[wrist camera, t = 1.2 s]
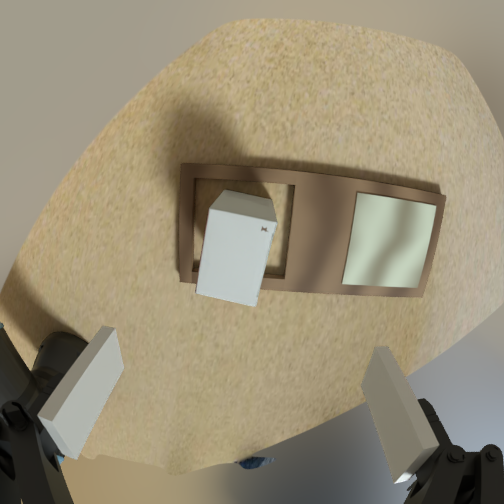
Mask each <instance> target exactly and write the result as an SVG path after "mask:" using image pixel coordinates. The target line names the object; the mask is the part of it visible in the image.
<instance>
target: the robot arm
mask: <svg viewBox="0 0 504 504" xmlns="http://www.w3.org/2000/svg"><path fill="white" fill-rule="evenodd" d="M3 327H4V325H3V323H1V322H0V504H21V499H22V502H23V504H74V503H73V500H72V498H71V495H70V493H69V490H68V487H67V485H66V482H65V479H64V476H63V473H62V470H61V467H60V464H61V462H62V461H64V457H65V455H66V456H68V457H71V458H73V459H76V460H77V458H78V456H79V454H80V452H81V450H82V448H83V446H84V444H85V442H86V440H87V438H88V436H89V434H90V432H91V430H92V428H93V426H94V424H95V422H96V420H97V418H98V416H99V414H100V412H101V411H102V409H103V407H104V405H105V403H106V401H107V399H108V397H109V395H110V393H111V392H112V390H113V388H114V386H115V384H116V382H117V381H118V379H119V377H120V375H121V373H122V371H123V370H124V365H123V361H122V357H121V352H120V348H119V343H118V338H117V333H116V328H112V327H107V326H102V327H101V329H100V330H99V331H98V333H97V334H96V335H95V336H94V338H93V339H92V340H91V342H90V343H89V344H87V343H86V342H84V341H83V340H81V339H80V338H78V337H76V336H74V335H71V334H69V333H65V332H54V333H52V334H50V335H49V336H48V337H47V338H46V339H45V340H44V341H43V342H42V344H41V345H40V348H39V352H38V354H37V357H36V359H35V362H34V365H33V368H32V370H31V371H30V370H29V368H28V367H27V366H26V364H25V363H24V361H23V359H22V358H21V356H20V355H19V353H18V352H17V350H16V348H15V347H14V345H13V343H12V342H11V340H10V338H9V336H8V335H7V333H6V331H5V329H4V328H3ZM361 387H362V390H363V393H364V395H365V398H366V401H367V404H368V407H369V409H370V412H371V415H372V418H373V421H374V423H375V426H376V429H377V432H378V435H379V438H380V441H381V444H382V447H383V451H384V453H385V457H386V460H387V463H388V466H389V469H390V473H391V476H392V479H393V482H394V483H399V482H403V481H407V480H409V479H410V478H411V477H412V476H413V475H414V474H416V477H417V480H416V481H415V482H414V483H413V484H412V485H411V486H410V487H409V488H408V489H407V491H409V490H410V489H411V491H410V492H409V494H408V497H407V498H406V500H405V502H404V504H504V465H503V455H502V451H501V450H500V448H499V447H497V446H496V445H493V444H489V445H486V446H484V448H482V450H481V451H480V452H465V450H464V449H463V448H461V447H460V446H457V445H453V444H452V443H451V441H450V439H449V437H448V435H447V433H446V431H445V429H444V427H443V425H442V423H441V421H439V418H438V416H437V415H436V412H435V410H434V408H433V406H432V405H431V404H430V403H429V402H428V401H427V400H426V399H424V398H423V399H418V400H417V399H416V397H415V395H414V393H413V391H412V389H411V387H410V385H409V383H408V382H407V380H406V378H405V376H404V374H403V372H402V370H401V369H400V367H399V365H398V363H397V361H396V360H395V358H394V356H393V354H392V352H391V351H390V349H389V347H388V346H381V347H375V348H374V351H373V354H372V357H371V360H370V362H369V365H368V368H367V371H366V373H365V376H364V378H363V381H362V384H361Z"/></svg>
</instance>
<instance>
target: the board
mask: <svg viewBox="0 0 504 504" xmlns="http://www.w3.org/2000/svg"><path fill="white" fill-rule="evenodd" d="M196 178H210V179H228V180H243V181H256V182H268V183H279V184H290V185H294V192H293V202H292V212H291V221H290V230H289V239H288V247H287V256H286V264H285V272H284V275H272V274H264V275H263V278H262V282H261V287H260V289H264V290H277V291H291V292H307V293H323V294H341V295H362V296H386V297H419V298H422V297H423V294H424V291H425V288H426V284H427V281H428V277H429V274H430V270H431V266H432V262H433V259H434V255H435V250H436V246H437V242H438V237H439V233H440V228H441V223H442V218H443V213H444V207H445V201H446V196H445V195H442V194H438V193H433V192H429V191H424V190H419V189H414V188H409V187H404V186H398V185H393V184H387V183H381V182H376V181H369V180H363V179H357V178H350V177H343V176H336V175H328V174H320V173H312V172H303V171H294V170H284V169H274V168H262V167H249V166H234V165H216V164H191V163H182V164H181V174H180V207H179V273H180V282H185V283H195V284H196V283H197V277H198V270H199V268H194V216H195V187H196Z"/></svg>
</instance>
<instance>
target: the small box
mask: <svg viewBox="0 0 504 504" xmlns="http://www.w3.org/2000/svg"><path fill="white" fill-rule="evenodd" d="M276 226H277V219H276V214H275V210H274V205H273V201H272V199H267V198H263V197H258V196H254V195H249V194H245V193H240V192H235V191H230V190H226V189H225V190H224V191H223V192H222V193H221V194H220V196H219V197H218V198H217V199H216V200H215V202H214V203H213V204H212V205H211V206H210V208H209V210H208V216H207V222H206V227H205V233H204V239H203V245H202V251H201V257H200V264H199V270H198V277H197V283H196V290H195V293H196V294H201V295H205V296H209V297H213V298H218V299H222V300H227V301H231V302H236V303H240V304H245V305H249V306H254V307H255V306H256V305H257V300H258V295H259V291H260V287H261V282H262V278H263V275H264V271H265V267H266V263H267V259H268V255H269V251H270V247H271V243H272V240H273V236H274V233H275V230H276Z"/></svg>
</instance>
